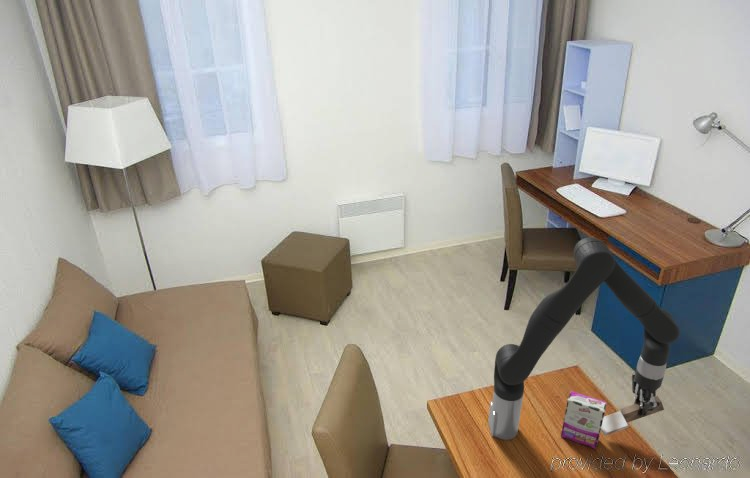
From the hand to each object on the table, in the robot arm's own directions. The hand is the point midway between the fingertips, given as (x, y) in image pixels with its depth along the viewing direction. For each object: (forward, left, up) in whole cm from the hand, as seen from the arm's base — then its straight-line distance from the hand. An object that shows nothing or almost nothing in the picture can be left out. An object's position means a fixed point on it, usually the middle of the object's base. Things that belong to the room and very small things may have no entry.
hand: (639, 411), depth 166 cm
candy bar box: (-17, 0, -12) cm, 21 cm away
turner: (-1, 0, -2) cm, 3 cm away
